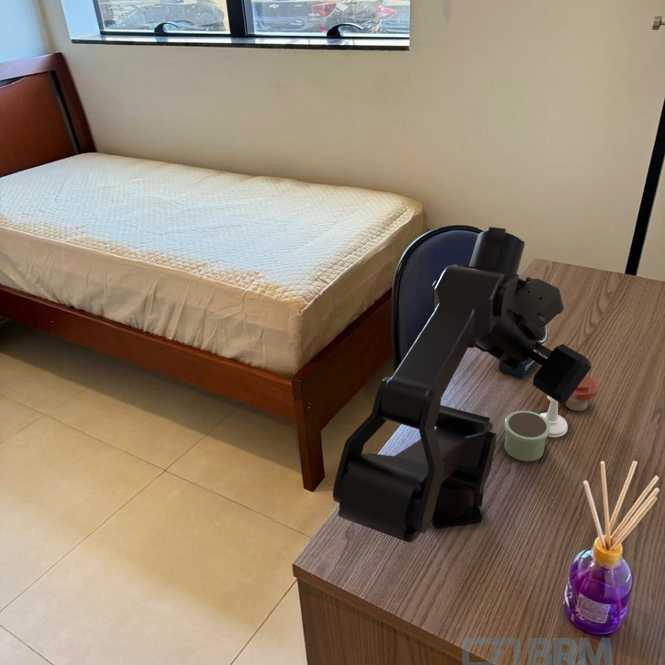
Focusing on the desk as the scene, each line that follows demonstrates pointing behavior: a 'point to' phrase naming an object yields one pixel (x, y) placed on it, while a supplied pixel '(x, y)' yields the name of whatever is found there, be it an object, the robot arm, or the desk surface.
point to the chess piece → (555, 420)
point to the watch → (526, 365)
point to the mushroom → (582, 394)
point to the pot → (526, 435)
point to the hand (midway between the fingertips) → (545, 368)
